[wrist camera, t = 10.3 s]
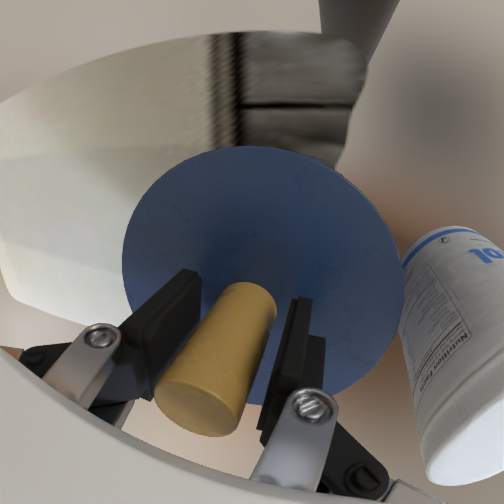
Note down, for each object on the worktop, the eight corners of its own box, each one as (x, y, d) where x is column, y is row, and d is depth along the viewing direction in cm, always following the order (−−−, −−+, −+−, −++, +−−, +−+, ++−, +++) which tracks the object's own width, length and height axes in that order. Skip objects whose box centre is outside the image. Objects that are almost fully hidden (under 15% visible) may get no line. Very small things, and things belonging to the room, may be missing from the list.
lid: (136, 135, 11) (7, 149, 5) (435, 184, 9) (544, 238, 3) (143, 353, 16) (81, 427, 10) (346, 409, 14) (337, 512, 8)
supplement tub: (503, 235, 16) (620, 340, 2) (464, 336, 19) (518, 471, 6) (403, 209, 18) (523, 339, 4) (371, 324, 21) (385, 497, 8)
